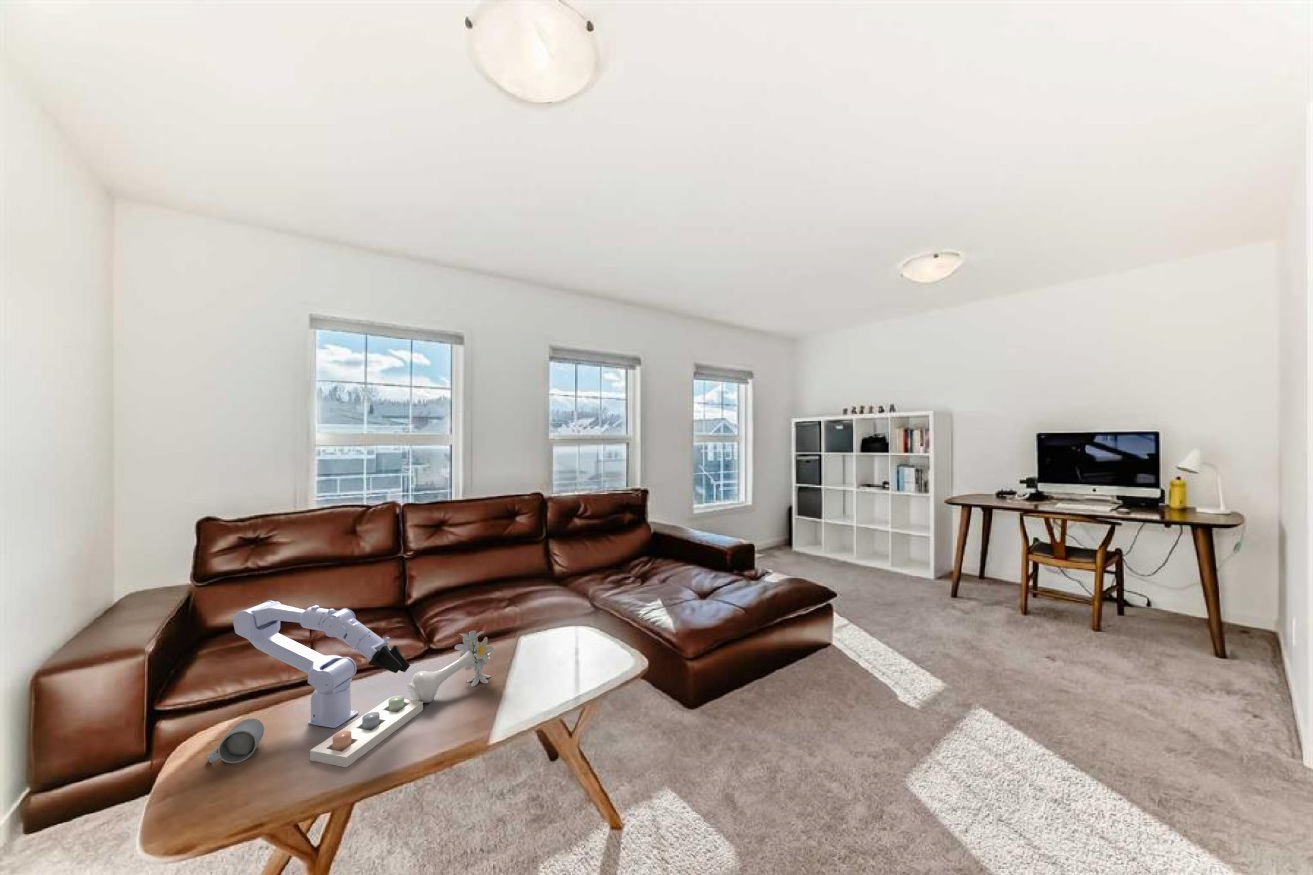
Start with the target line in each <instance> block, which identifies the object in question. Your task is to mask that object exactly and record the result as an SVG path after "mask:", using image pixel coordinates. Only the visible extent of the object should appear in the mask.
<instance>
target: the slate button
mask: <svg viewBox="0 0 1313 875" xmlns="http://www.w3.org/2000/svg"><path fill="white" fill-rule="evenodd" d="M366 713H367V714H366ZM366 713H365V714H363V715H364V716H363V715H362V716H363V717H362V716H361V717H362V729H364V730H370V731H372V730H373V729H374V728H376V727H377V726H379V725H380V714H379V712H370V713H368V712H366Z"/></svg>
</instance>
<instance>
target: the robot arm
mask: <svg viewBox="0 0 1313 875" xmlns="http://www.w3.org/2000/svg"><path fill="white" fill-rule="evenodd" d="M281 622H289V623H290V622H291V623H298V624H300V626H301V627H302V628H304V629H308V630H315V631H319V632H324V633H325V636H326V637H329V638H336V639H337V640H341V641H343V642H344V643H345V644H347V645H349V646H350V647H351V648H352V649H353V650H355V651H356V652H358V653H359V654H360V655H361V656H363V657H365V658H366V659H367V660H368V665H369V666H375V667H378V668H382V669H384V670H386V671H389V672H391V673H393V674H394V673H395V674H398V672H399V671H400V672H402V673H406V672H407V670H408V669H409V668H410V666H411V664H410V663H409V662H408V661H407V660H406V658H405V657H404V656H403V654H402V652H401V651H400V647H398V645H395V644H394V645H393V647H392V648H390V646H389V641H390V640H391V638H390V637H388V636H386V637H385V638H384V639H383V638H382V637H381V636H379V635H378V634H376V633H375V632H373V631H372V630H371V629H370V628H368V627H366V626H365V625H364V624H363V623H362V622H360V621H359V620H357V618H356V614H355V612H354V611H353V610H351V609H349V608H347V607H344V608H341V609H339V610H336V609H334V608H330V609H329V608H323V607H320V605H316V604H315V605H313V606H309V607H308V608H306V609H303V608H299V607H296V606H295V607H294V606H290V605H286V604H282V603H281V602H280V601H274V600H266V601H264V602H263V603H260V604H257V605H255V606H252V607H249V608H246V609H244V610H240V611H238V612H236V613H235V615H234V616H233V620H232V623H233V627H234V628H233V629H234V633H235V634H237V635H238V636H240V637H242V638H244V639H247V641H249V642H250V643H251V645H253V647H254V648H255V649H257V650H259V651H260V652H262V653H264V654H267V655H269V656H270V657H273V658H275V659H276V660H279V661H280V662H283V663H285V664H287V665H289V666H291V667H293V668H295V669H297V670H299V671H302V672H304V673H305V674H307V684H309V685H311V686H312V687H313V688H314V691H313V692H312V695H311V698H310V720H309V721H307V724H308V725H313V726H314V725H315V726H320V727H324V728H330V729H336V728H339V726H342V725H343V724H344V723H346V722H347V721H349V720H350V719H352V718H353V717H355V716H357V715H358V714H359V711H357V710H352V703H351V701H352V699H351V698H352V697H351V696H352V695H351V692H352V691H351V690H352V689H351V688H352V687H351V683H352V681H353V677H354V676H355V675H356V673H357V670H358V669H357V664H356V662H355V661H354V659H353V658H352V657H349V656H340V655H338V654H331V655H324V654H322V653H320V652H318V651H316V650H314V649H311V648H310V647H308V646H305V645H304V644H301V643H299V642H297V641H295V640H293V639H291V638H289V637H287V636H285V635H283V634H281V633H279V631H280V629H281Z"/></svg>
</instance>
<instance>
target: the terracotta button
mask: <svg viewBox="0 0 1313 875" xmlns="http://www.w3.org/2000/svg"><path fill="white" fill-rule="evenodd" d="M338 732H339V731H338ZM336 733H337V732H336ZM336 733H334V734H335V735H334V734H333V735H334V736H333V735H332V736H333V750H335V751H341V752H342V751H343V750H345V749H346V748H348V747H349V746H350V745H352V740H351V731H342V732H339V733H337V734H336Z"/></svg>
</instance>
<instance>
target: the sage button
mask: <svg viewBox="0 0 1313 875" xmlns="http://www.w3.org/2000/svg"><path fill="white" fill-rule="evenodd" d="M390 697H391V698H390ZM390 697H389V698H390V699H389V698H388V699H389V700H388V706H389V711H392V712H398V711H400V710H401V709H403V708H404V699H405V696H404V695H402V694H401V695H400V694H397V695H394V696H390Z"/></svg>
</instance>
